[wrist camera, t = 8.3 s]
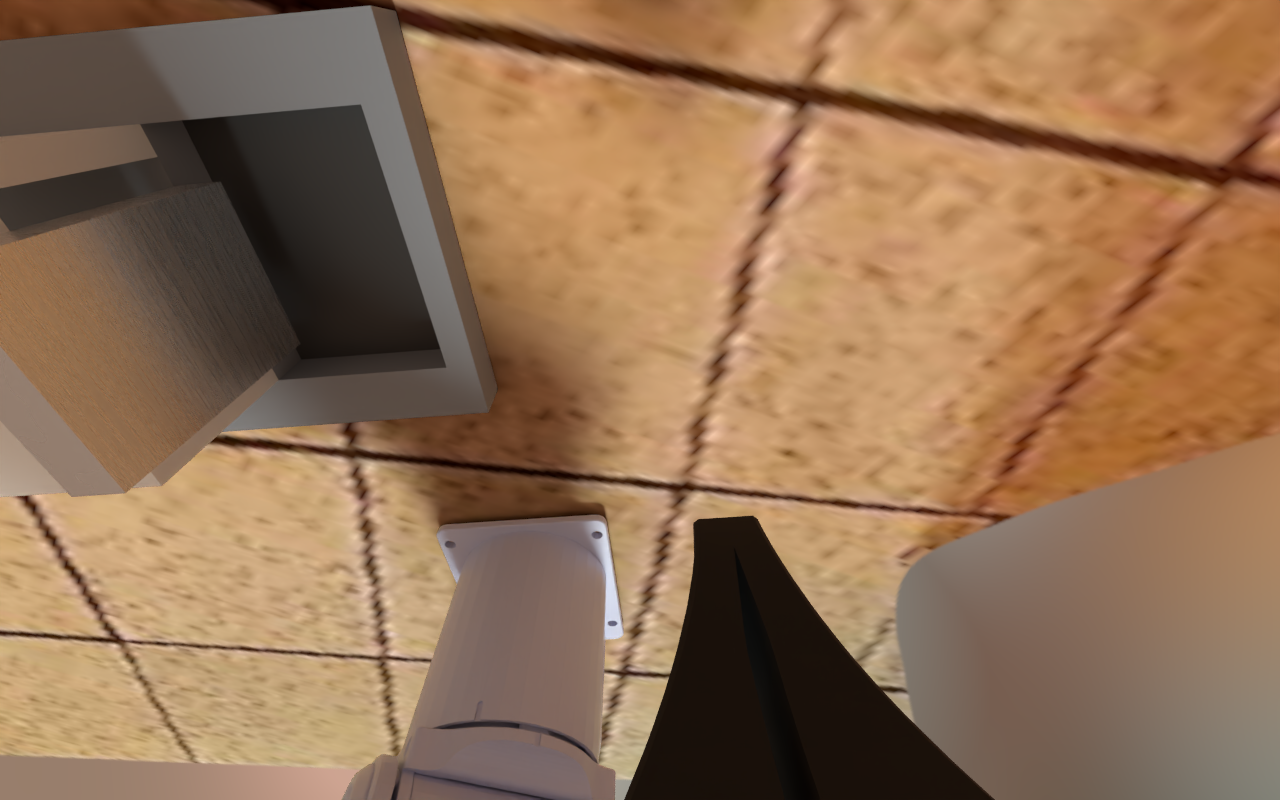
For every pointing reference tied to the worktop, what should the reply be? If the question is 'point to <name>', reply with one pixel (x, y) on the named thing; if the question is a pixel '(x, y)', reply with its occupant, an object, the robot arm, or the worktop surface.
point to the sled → (131, 332)
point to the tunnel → (6, 163)
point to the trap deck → (283, 191)
